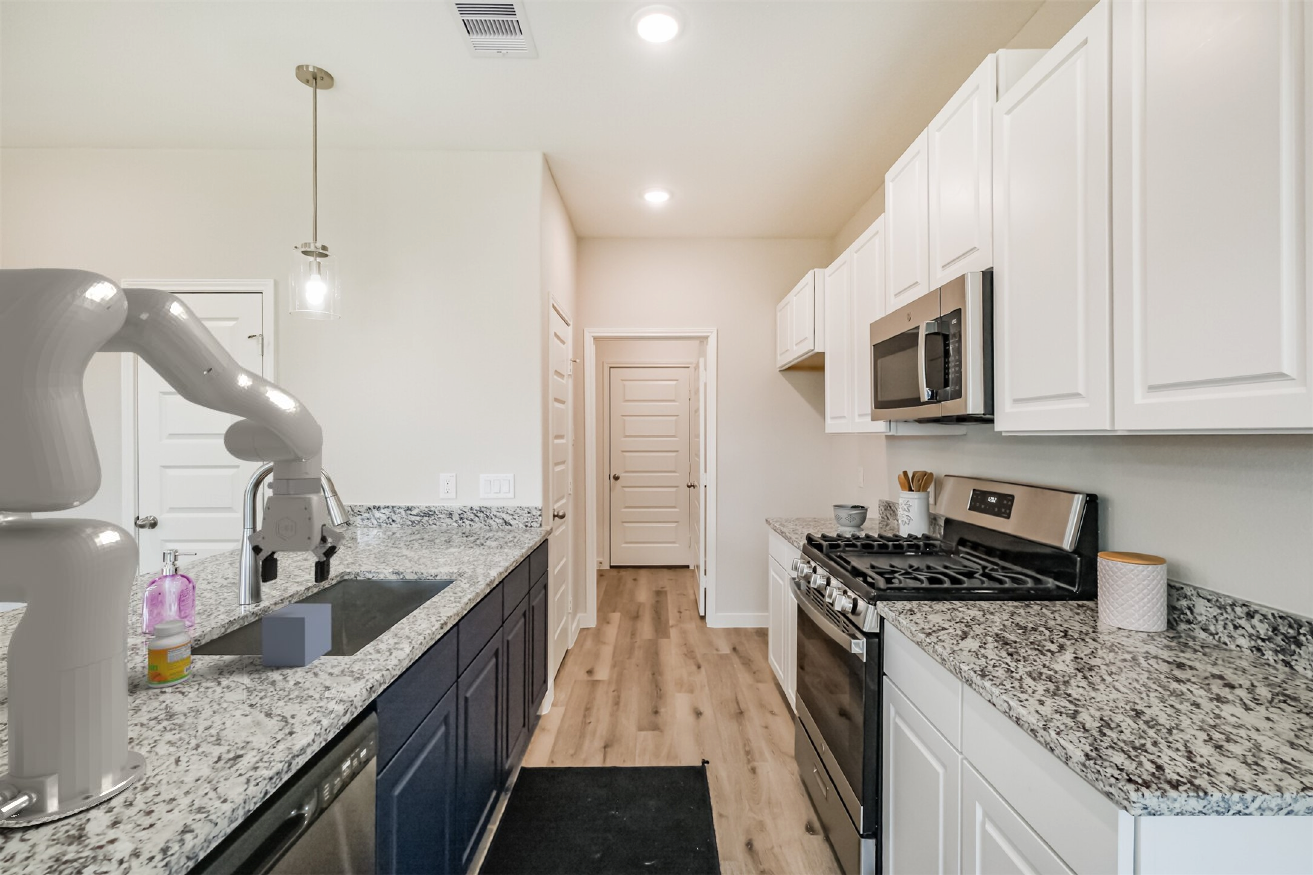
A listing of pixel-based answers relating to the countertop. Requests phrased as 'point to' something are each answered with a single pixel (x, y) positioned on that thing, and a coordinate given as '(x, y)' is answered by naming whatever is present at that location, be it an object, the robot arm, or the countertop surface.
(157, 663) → the supplement bottle
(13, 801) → the robot arm
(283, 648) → the slate blue rectangular box
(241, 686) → the countertop surface
